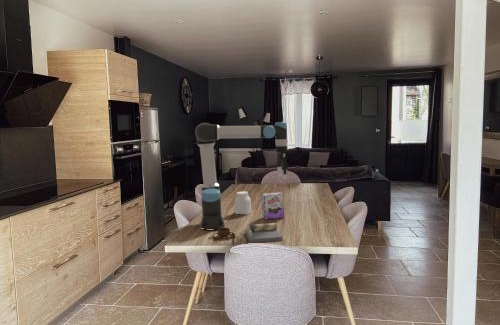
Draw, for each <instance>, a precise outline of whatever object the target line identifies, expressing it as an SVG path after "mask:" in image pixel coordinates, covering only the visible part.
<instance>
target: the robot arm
mask: <svg viewBox="0 0 500 325" xmlns="http://www.w3.org/2000/svg"><path fill="white" fill-rule="evenodd" d="M194 130H195V131H194V132H195V137H196V144H197V146H198V147H199V152H200V161H201V162H200V163H201V171H202V172H201V173H202V181H203V184H202V185H201V194H200V195H201V196H200V197H201V212H202V217H201V220H200V224H199V225H200V226H199V228H200V227H201V228H204V229H219V228H222V227H224V226H225V227H226V225H225V220H224V218H223V215H222V202H221V201H222V200H221V197H222V193H221V188H220V184H219V183H218V181H217V180H218V179H217V170H216V161H215V151H214V150H215V149H214V147H215V144H216V141H218V140H220V139H272V138H275V152H276V154H277V156H276V166H277V168H276V169H277V177H278V178H279V177H282V180H287V179H288V177H287V176H288V173H287V172H288V169H289V168H288V167H289V166H288V162H287V161H288V160H287V154H286V152H287V151H288V146H287V145H288V127H287V122H286V121H278V122H277V121H276V122H275V123H274V125H273V124H272V125H268V124H267V125H219V124H212V123H209V122H202V123H200V124H198V125H197V126H196V128H195V129H194ZM225 227H224V228H225Z"/></svg>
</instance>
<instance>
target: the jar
mask: <svg viewBox="0 0 500 325" xmlns="http://www.w3.org/2000/svg"><path fill="white" fill-rule="evenodd" d="M251 199H252V198H251V197H250V196H249V192H248V191H237V192H236V196H235V198H234V214H235V213H236V214H249V215H251V214H252V206H251V205H252V200H251ZM250 213H251V214H250ZM236 214H235V215H236Z"/></svg>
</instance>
